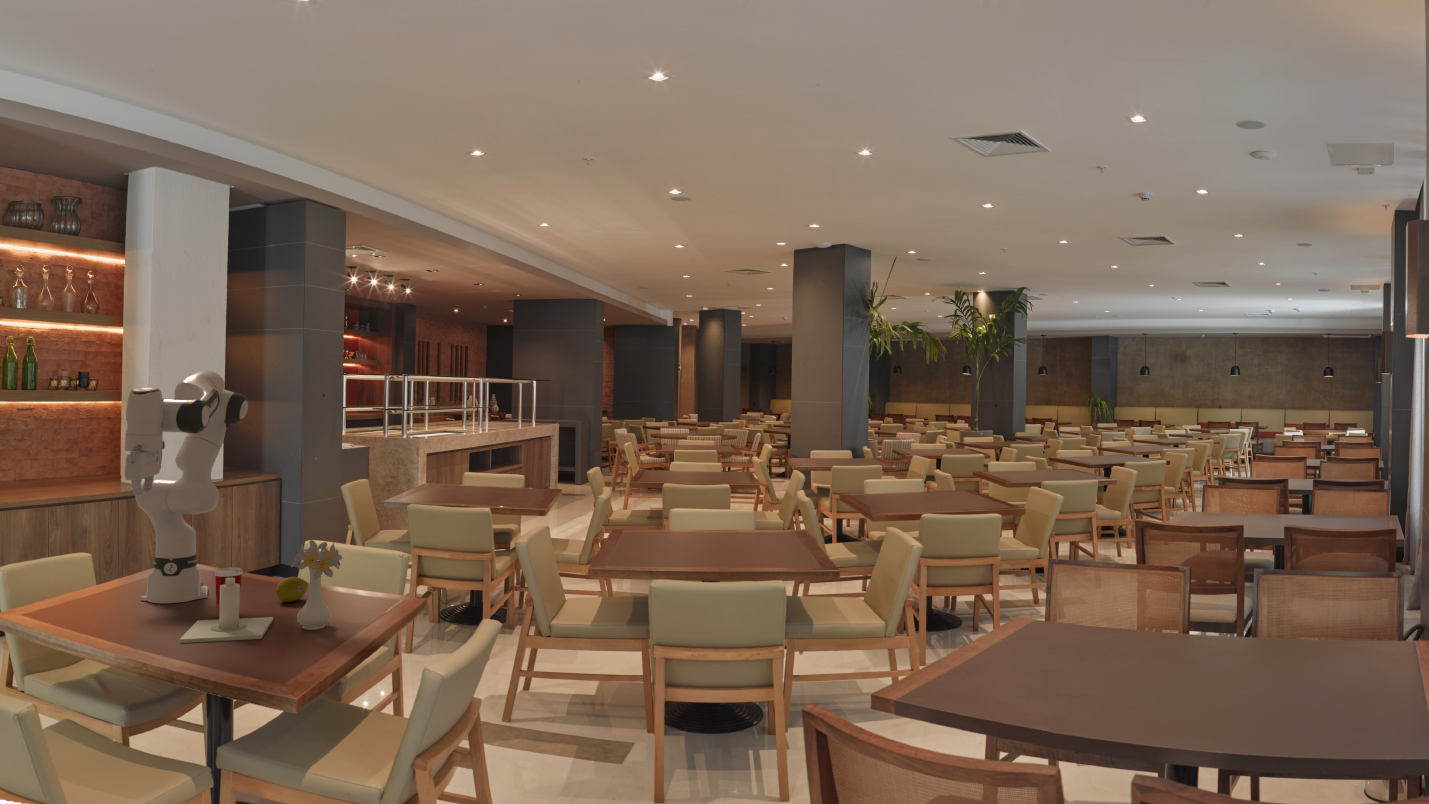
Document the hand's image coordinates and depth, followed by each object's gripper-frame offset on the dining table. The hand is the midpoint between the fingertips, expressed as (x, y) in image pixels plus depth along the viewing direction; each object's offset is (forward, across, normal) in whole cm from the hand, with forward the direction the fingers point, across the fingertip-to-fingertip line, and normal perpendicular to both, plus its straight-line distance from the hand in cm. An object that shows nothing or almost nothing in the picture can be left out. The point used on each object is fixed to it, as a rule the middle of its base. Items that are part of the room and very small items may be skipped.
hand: (142, 493), depth 243 cm
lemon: (+39, +28, -36) cm, 60 cm away
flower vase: (+39, -7, -47) cm, 62 cm away
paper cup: (+39, +13, -20) cm, 46 cm away
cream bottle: (+38, -6, -24) cm, 45 cm away
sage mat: (+39, -6, -24) cm, 46 cm away
